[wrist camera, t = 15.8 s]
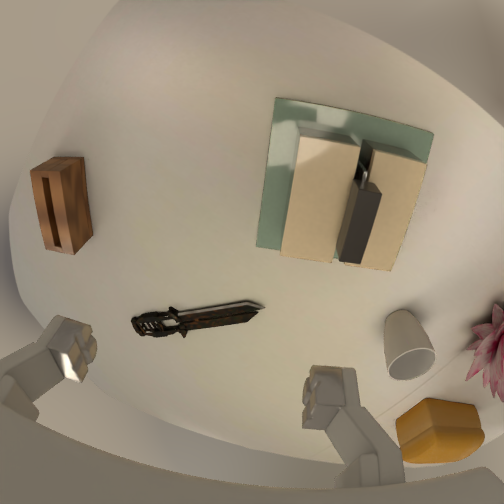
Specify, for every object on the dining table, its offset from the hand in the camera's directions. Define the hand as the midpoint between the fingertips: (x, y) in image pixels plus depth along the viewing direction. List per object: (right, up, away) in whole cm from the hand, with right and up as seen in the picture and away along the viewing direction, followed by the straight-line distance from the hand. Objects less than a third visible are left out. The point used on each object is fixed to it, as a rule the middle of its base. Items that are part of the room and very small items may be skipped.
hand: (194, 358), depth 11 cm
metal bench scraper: (+13, +11, +27) cm, 32 cm away
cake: (+14, +12, +28) cm, 33 cm away
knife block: (-26, +12, +32) cm, 43 cm away
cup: (+27, -8, +39) cm, 48 cm away
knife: (-8, -7, +43) cm, 44 cm away
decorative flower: (+52, -11, +38) cm, 65 cm away
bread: (+53, -41, +57) cm, 88 cm away
